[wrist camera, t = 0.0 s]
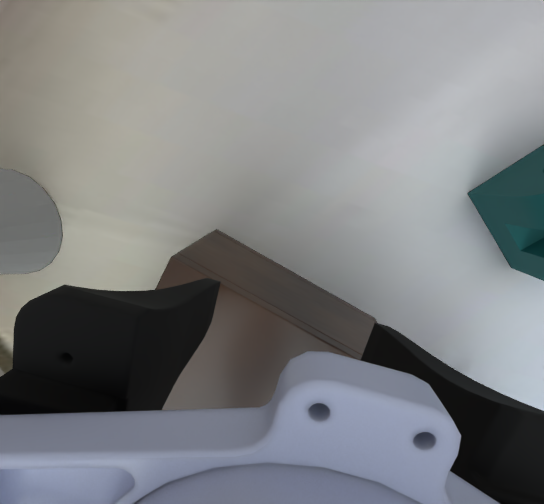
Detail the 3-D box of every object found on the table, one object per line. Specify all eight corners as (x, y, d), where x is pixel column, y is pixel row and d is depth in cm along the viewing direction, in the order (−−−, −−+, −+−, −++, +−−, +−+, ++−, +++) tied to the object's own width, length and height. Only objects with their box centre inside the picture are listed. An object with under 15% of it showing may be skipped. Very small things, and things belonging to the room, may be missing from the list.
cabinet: (375, 318, 23) (420, 393, 15) (295, 426, 26) (296, 539, 18) (216, 228, 23) (170, 256, 14) (153, 350, 26) (85, 432, 17)
